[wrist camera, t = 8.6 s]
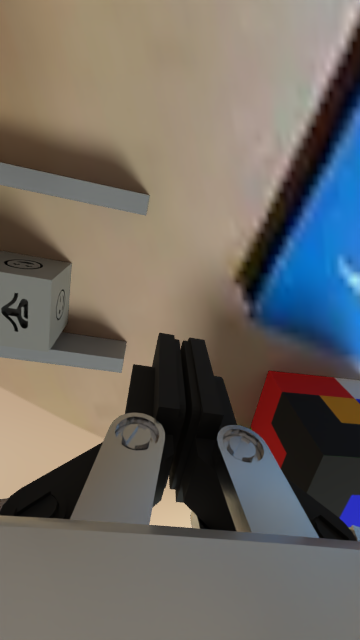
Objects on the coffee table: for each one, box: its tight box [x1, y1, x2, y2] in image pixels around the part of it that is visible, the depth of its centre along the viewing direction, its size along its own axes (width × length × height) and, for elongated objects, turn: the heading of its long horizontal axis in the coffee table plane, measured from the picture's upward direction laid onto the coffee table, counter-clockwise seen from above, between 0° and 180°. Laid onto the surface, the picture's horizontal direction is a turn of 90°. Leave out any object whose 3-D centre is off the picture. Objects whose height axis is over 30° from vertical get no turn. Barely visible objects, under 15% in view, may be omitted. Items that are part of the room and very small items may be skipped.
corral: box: [0, 162, 150, 373], centre depth 22 cm, size 13×13×3 cm
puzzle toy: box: [250, 371, 360, 529], centre depth 26 cm, size 10×10×10 cm
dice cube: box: [0, 251, 72, 352], centre depth 21 cm, size 5×5×5 cm
